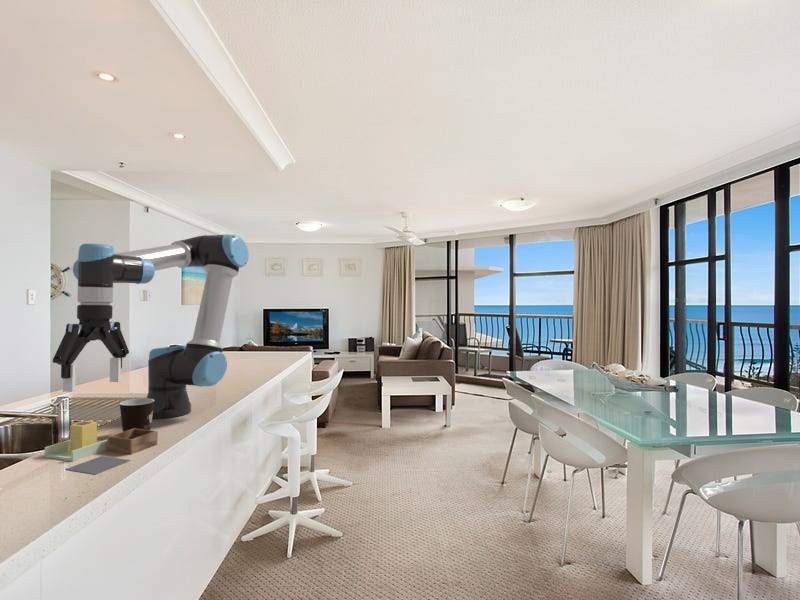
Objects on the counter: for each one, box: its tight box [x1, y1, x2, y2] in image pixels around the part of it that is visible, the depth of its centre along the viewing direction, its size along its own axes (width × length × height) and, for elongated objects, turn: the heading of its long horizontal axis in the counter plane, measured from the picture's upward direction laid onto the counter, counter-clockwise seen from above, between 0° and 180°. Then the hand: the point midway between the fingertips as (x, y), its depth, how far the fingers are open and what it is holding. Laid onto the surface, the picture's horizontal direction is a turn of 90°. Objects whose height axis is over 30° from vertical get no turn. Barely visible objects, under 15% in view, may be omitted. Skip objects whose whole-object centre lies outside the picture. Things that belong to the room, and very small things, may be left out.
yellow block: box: [69, 420, 98, 453], centre depth 112 cm, size 4×4×7 cm
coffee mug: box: [119, 398, 155, 432], centre depth 127 cm, size 12×9×10 cm
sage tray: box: [44, 439, 107, 463], centre depth 112 cm, size 12×9×3 cm
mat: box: [65, 455, 131, 476], centre depth 103 cm, size 9×9×1 cm
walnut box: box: [106, 428, 158, 455], centre depth 116 cm, size 8×8×4 cm
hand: (93, 386), depth 113 cm, fingers open, 13 cm apart
